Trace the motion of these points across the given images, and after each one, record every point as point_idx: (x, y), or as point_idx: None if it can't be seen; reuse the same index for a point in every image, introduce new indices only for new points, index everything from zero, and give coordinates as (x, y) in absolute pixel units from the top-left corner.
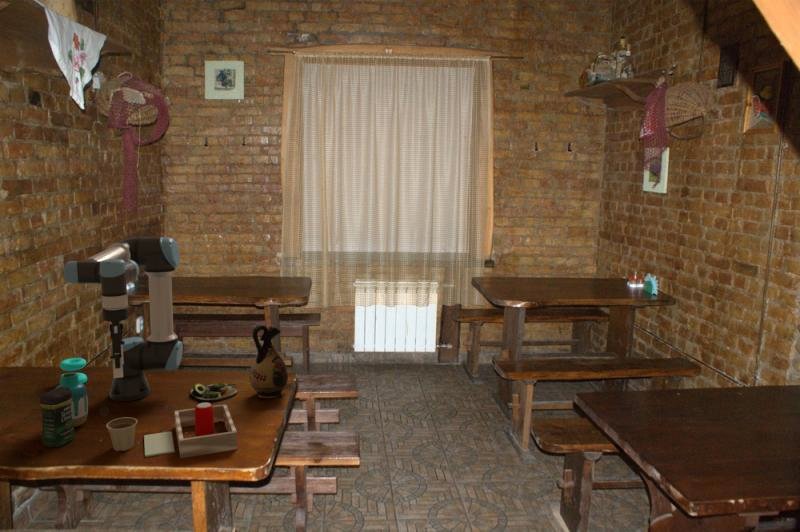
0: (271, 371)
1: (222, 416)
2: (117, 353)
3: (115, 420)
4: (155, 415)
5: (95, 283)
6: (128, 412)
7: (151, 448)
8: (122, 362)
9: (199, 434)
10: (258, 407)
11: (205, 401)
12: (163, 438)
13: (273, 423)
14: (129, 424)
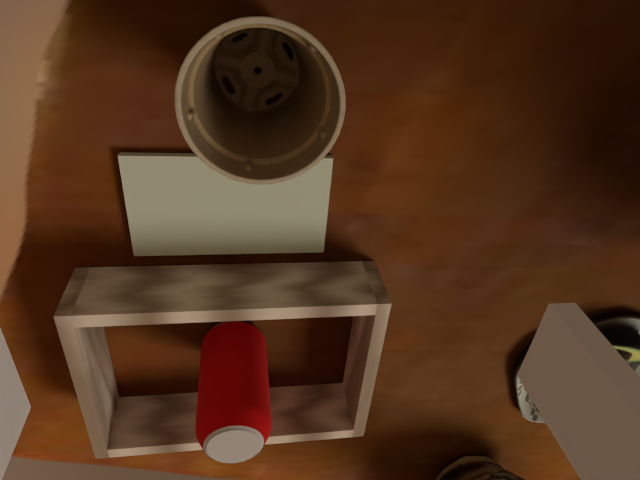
0: None
1: (346, 394)
2: (634, 473)
3: (332, 72)
4: (526, 201)
5: None
6: (635, 101)
7: (182, 181)
8: (531, 386)
9: (208, 341)
10: (395, 452)
11: (527, 349)
12: (267, 224)
13: (263, 474)
14: (311, 132)
